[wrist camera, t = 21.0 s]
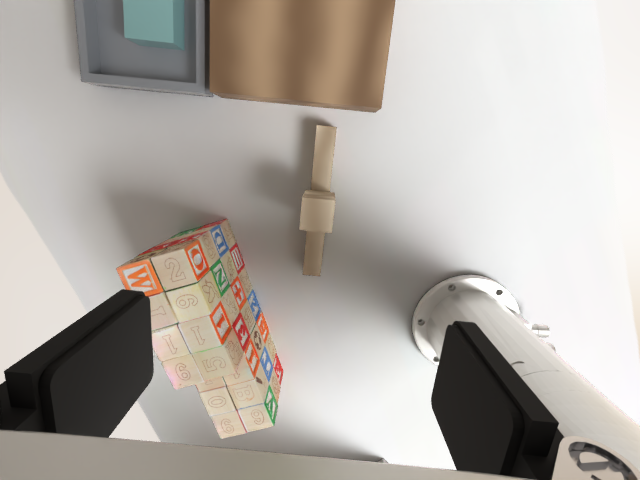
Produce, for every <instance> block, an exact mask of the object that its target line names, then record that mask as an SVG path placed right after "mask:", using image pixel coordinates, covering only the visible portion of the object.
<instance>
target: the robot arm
mask: <svg viewBox="0 0 640 480" xmlns="http://www.w3.org/2000/svg"><path fill="white" fill-rule="evenodd" d="M449 285H451V286H450V287H449ZM420 319H421V320H420ZM412 331H413V336H414V339H415V341H416V344H417V346H418V348H419V350H420V351H421V353H422V354H423V355H424V356H425V357H426V358H427V359H428V360H429V361H430V362H432V363H433V364H435V365H437V366H438V369H437V374H436V378H435V383H434V388H433V392H432V398H431V403H432V409H433V411H434V414H435V416H436V419H437V421H438V424H439V426H440V429H441V431H442V434H443V436H444V439H445V441H446V444H447V446H448V449H449V451H450V454H451V456H452V459H453V461H454V464H455V466H456V469H457V470H449V469H439V468H429V467H419V466H409V465H399V464H389V463H379V462H368V461H358V460H347V459H337V458H326V457H316V456H305V455H294V454H284V453H273V452H263V451H252V450H240V449H229V448H218V447H207V446H196V445H185V444H174V443H163V442H152V441H140V440H129V439H117V438H108V437H109V436H110V435H111V433H112V432H113V431H114V429H115V428H116V427H117V425H118V424H119V423H120V421H121V420H122V419H123V417H124V416H125V415H126V414H127V412H128V411H129V410H130V408H131V407H132V406H133V404H134V403H135V402H136V400H137V399H138V398H139V396H140V395H141V394H142V392H143V391H144V390H145V388H146V387H147V386H148V384H149V383H150V381H151V379H152V376H153V370H154V369H153V348H152V328H151V307H150V299H149V297H148V296H145V294H144V292H143V291H135V290H124V289H123V290H120V291H119V292H118V293H116V294H115V295H113V296H112V297H110V298H109V299H107V300H106V301H105V302H103V303H102V304H100V305H99V306H97V307H96V308H95V309H93V310H92V311H90V312H89V313H87V314H86V315H84V316H83V317H82V318H80V319H79V320H77V321H76V322H74V323H73V324H71V325H70V326H69V327H67V328H66V329H64V330H63V331H61V332H60V333H58V334H57V335H56V336H54V337H53V338H51V339H50V340H48V341H47V342H45V343H44V344H43V345H41V346H40V347H38V348H37V349H35V350H34V351H32V352H31V353H30V354H28V355H27V356H25V357H24V358H22V359H21V360H20V361H18V362H17V363H15V364H14V365H12V366H11V367H9V368H8V369H7V370H5V371H4V374H5V379H6V381H5V382H3V383H2V384H0V480H640V426H639V425H638V424H637V423H636V422H634V421H633V420H632V419H631V418H630V417H629V416H627V415H626V414H625V413H624V412H623V411H621V410H620V409H619V408H618V407H617V406H616V405H614V404H613V403H612V402H611V401H610V400H609V399H608V398H607V397H605V396H604V395H603V394H602V393H601V392H600V391H599V390H598V389H596V388H595V387H594V386H593V385H592V384H591V383H590V382H589V381H587V380H586V379H585V378H584V377H583V376H582V375H581V374H580V373H579V372H577V371H576V370H575V369H574V368H573V367H572V366H571V365H570V364H569V363H567V362H566V361H565V360H564V359H563V358H562V357H561V356H560V355H559V354H557V353H556V351H555V347H554V346H553V345H552V344H551V343H545V342H544V341H543V340H542V339H541V338H540V337H545V338H546V337H548V336H549V334H550V331H549V328H548V326H546V325H538V324H534V325H532V324H529V323H528V322H527V321H526V320H525V319H524V318H522V317H521V316H520V311H519V308H518V305H517V302H516V301H515V299H514V297H513V296H512V294H511V293H510V292H509V291H508V290H507V289H506V288H504V287H503V286H502V285H501V284H499V283H498V282H496V281H494V280H492V279H490V278H487V277H483V276H479V275H460V276H456V277H452V278H449V279H447V280H444V281H442V282H440V283H438V284H437V285H435V286H434V287H432V288H431V289H430V290H429V291H428V292H427V293H426V294H425V295H424V296H423V297H422V299H421V300H420V302H419V303H418V305H417V307H416V309H415V312H414V316H413V320H412Z"/></svg>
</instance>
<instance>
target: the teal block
mask: <svg viewBox="0 0 640 480" xmlns="http://www.w3.org/2000/svg"><path fill="white" fill-rule="evenodd" d="M123 12H124V34H125V38H126V39H128V40H130V41H132V42H134V43H136V44H137V45H139V46H148V47H157V48H165V49H174V50H183V51H184V0H123Z"/></svg>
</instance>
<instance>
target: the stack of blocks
mask: <svg viewBox="0 0 640 480" xmlns="http://www.w3.org/2000/svg"><path fill="white" fill-rule="evenodd" d="M244 266H245V265H244V262H243V260H242V257H241V254H240V251H239V249H238V246H237V243H236V240H235V237H234V234H233V232H232V229H231V226H230V223H229V221H228V219H225V220H221V221H218V222H214V223H211V224H208V225H204V226H202V227H199V228H195V229H192V230H188V231H185V232H181V233H179V234H177V235H175V236H173V237H171V238H170V239H168V240H166V241H164V242H163V243H161V244H159V245H157V246H155V247H153V248H151V249H149V250H147V251H145V252H143V253H142V254H139V255H138V256H137V257H136V258H134V259H132V260H130V261H128V262H127V263H125V264H123V265H121V266H119V267H118V268H116V270H117V272H118V274H119V276H120V278H121V281H122V283H123V285H124V287H125V289H126V290H135V291H143V292H144V294H145V296H148V297H149V299H150V307H151V328H152V347H153V349H154V351H155V353H156V355H157V357H158V359H159V360H160V361H161V362H162V366H163V367H164V369H165V371H166V373H167V375H168V377H169V379H170V381H171V383H172V385H173V387H174V389H175V390H176V389H180V388H184V387H187V386H191V385H196V387H197V389H198V391H199V395H200V397H201V400H202V402H203V404H204V406H205V408H206V410H207V413H208V415H209V416H210V417H211V419H212V422H213V424H214V426H215V428H216V431H217V432H218V435H219V437H220V438H221V439H223V438H227V437H232V436H236V435H241V434H245V433H247V432H251V431H256V430H260V429H265V428H269V427H273V426H274V423H275V418H276V413H277V408H278V404H277V403H278V398H279V393H280V388H281V387H280V385H281V381H282V376H283V369H282V366H281V364H280V361H279V359H278V356H277V353H276V349H275V346H274V343H273V341H272V338H271V335H270V333H269V330H268V327H267V324H266V322H265V319H264V316H263V313H262V311H261V310H260V307H259V304H258V302H257V299H256V296H255V293H254V291H253V289H252V286H251V283H250V280H249V278H248V275H247V272H246V270H245V267H244Z"/></svg>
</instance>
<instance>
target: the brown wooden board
mask: <svg viewBox="0 0 640 480" xmlns="http://www.w3.org/2000/svg"><path fill="white" fill-rule="evenodd" d="M394 7H395V0H210V92H211V93H213V94H216V95H218V96H220V97H222V98H230V99H240V100H250V101H261V102H271V103H282V104H292V105H303V106H313V107H323V108H334V109H344V110H355V111H365V112H377V111H378V110H379V109H381V105H382V98H383V90H384V83H385V75H386V67H387V60H388V52H389V45H390V37H391V30H392V22H393V14H394Z"/></svg>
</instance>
